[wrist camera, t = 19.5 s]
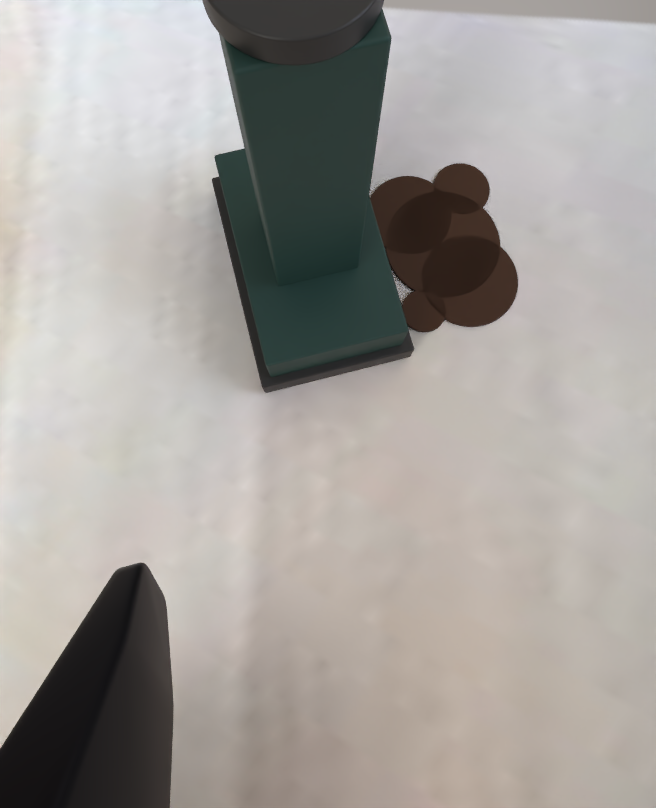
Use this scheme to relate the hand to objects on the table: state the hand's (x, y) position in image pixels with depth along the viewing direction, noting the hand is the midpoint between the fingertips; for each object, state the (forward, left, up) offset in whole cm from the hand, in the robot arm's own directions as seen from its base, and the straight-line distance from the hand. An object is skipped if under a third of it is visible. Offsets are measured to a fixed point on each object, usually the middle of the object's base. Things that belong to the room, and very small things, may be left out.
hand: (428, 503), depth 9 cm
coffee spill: (+11, +3, -13) cm, 17 cm away
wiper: (+6, +7, -13) cm, 16 cm away
